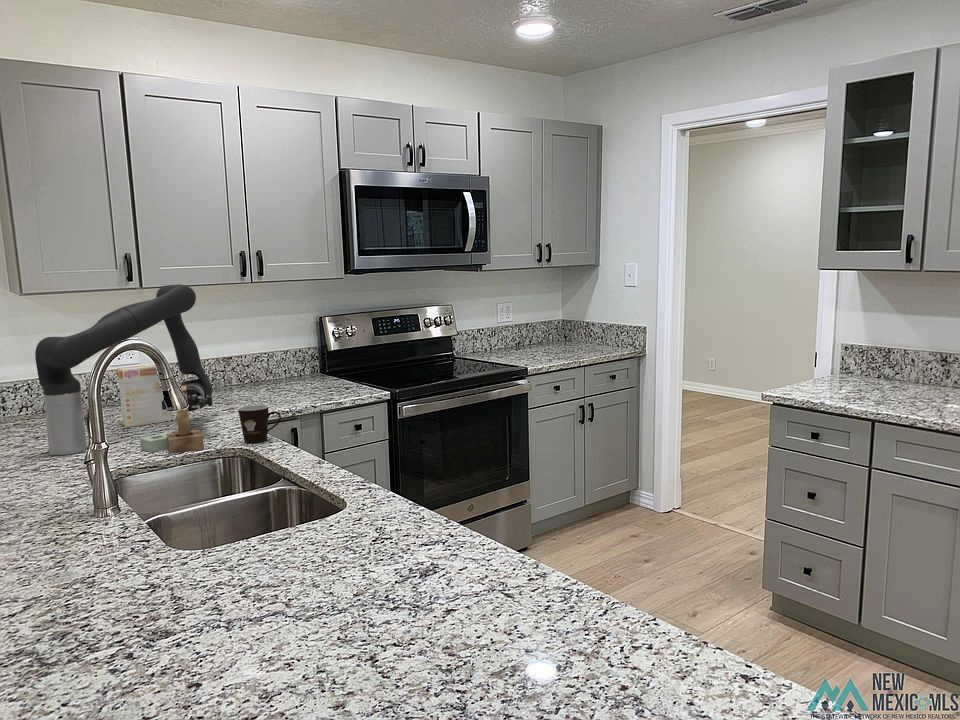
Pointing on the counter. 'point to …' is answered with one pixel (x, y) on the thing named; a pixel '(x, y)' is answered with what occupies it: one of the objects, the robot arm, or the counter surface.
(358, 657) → the counter surface
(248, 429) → the coffee mug
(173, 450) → the slotted wooden block
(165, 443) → the bead
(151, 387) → the coffeecake box
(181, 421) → the tan wooden bar
